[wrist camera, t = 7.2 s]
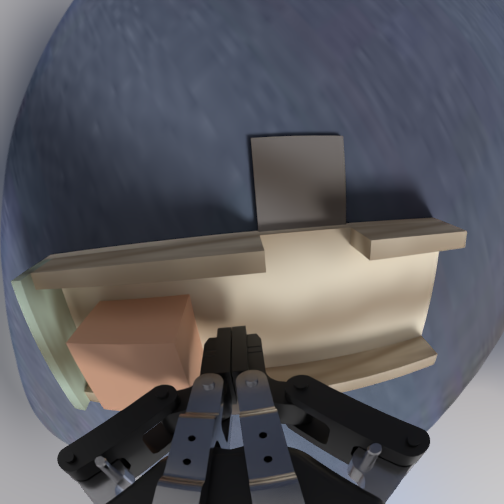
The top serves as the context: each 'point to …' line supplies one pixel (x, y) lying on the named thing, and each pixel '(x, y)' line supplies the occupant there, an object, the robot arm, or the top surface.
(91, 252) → the box
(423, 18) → the top surface
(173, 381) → the block
